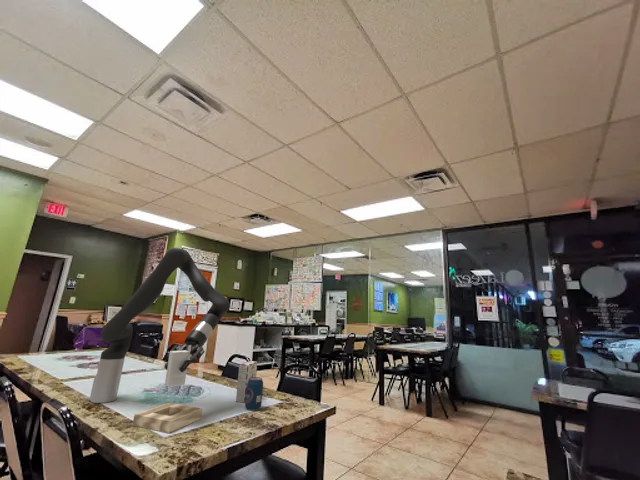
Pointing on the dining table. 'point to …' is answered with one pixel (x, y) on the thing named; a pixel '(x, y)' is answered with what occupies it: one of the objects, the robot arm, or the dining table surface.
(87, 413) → the dining table surface
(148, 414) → the socket block
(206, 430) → the dining table surface
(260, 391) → the soda can
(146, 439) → the dining table surface
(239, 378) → the candy bar box
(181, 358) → the skincare box
